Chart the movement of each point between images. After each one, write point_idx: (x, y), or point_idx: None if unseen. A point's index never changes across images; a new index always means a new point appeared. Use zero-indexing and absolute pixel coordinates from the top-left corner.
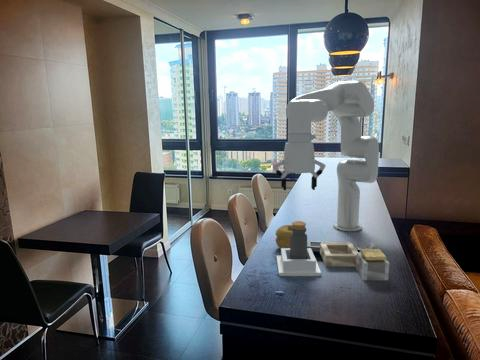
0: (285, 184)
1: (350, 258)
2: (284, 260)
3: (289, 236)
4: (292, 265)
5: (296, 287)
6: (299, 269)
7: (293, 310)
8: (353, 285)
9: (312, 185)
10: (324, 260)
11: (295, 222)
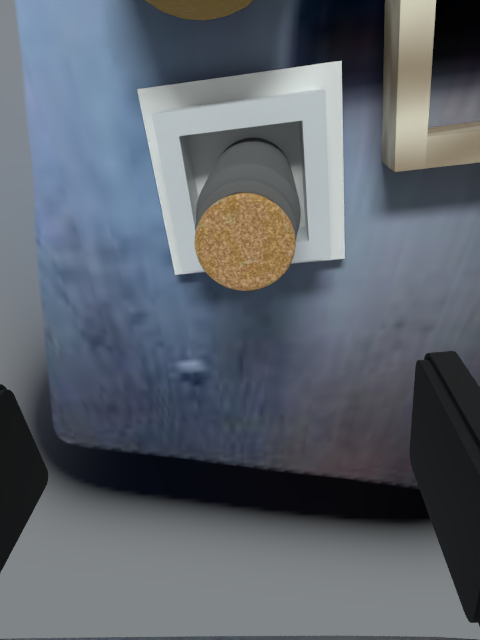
0: (6, 552)
1: None
2: (187, 266)
3: (187, 5)
4: None
5: (244, 339)
6: None
7: (237, 443)
8: (448, 310)
9: (428, 480)
10: (385, 123)
11: (218, 232)
